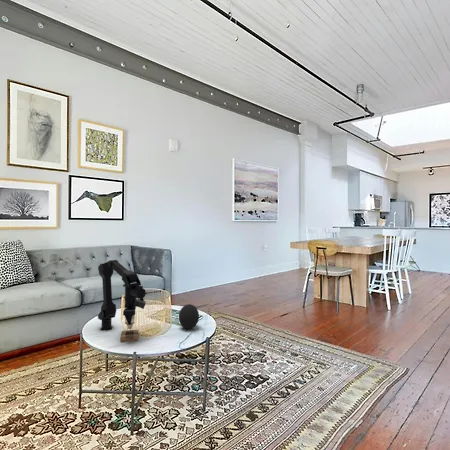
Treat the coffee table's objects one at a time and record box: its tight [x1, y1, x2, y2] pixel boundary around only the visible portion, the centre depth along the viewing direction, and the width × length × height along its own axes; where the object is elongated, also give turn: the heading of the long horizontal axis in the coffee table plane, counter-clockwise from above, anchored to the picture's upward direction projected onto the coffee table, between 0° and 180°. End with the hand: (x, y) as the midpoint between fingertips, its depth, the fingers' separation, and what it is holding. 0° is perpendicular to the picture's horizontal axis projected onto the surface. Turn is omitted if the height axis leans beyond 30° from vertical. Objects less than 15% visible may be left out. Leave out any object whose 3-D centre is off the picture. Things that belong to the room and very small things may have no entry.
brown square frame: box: [119, 329, 140, 343], centre depth 182 cm, size 9×9×3 cm
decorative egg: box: [178, 303, 200, 330], centre depth 200 cm, size 12×12×15 cm
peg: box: [124, 314, 136, 330], centre depth 182 cm, size 5×5×9 cm
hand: (129, 323), depth 182 cm, fingers closed on peg, 5 cm apart
